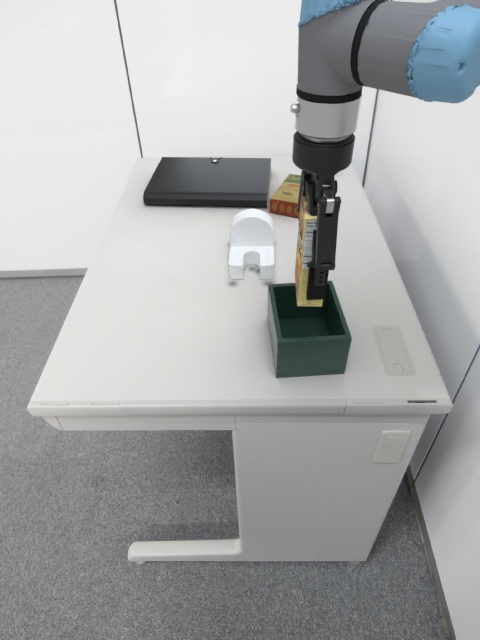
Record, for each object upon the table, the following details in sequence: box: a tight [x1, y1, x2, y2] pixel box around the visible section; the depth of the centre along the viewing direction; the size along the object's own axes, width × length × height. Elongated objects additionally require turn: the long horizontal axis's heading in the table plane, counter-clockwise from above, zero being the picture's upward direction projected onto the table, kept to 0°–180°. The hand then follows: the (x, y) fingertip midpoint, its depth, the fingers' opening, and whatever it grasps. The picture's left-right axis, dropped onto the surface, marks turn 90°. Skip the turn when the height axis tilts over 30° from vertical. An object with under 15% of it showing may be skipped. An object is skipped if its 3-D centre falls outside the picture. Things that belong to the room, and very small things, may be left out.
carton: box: [268, 173, 301, 218], centre depth 117 cm, size 8×16×4 cm, turn 157°
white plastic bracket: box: [228, 208, 275, 280], centre depth 97 cm, size 10×18×11 cm, turn 178°
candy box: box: [294, 190, 323, 307], centre depth 65 cm, size 9×4×15 cm, turn 178°
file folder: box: [142, 156, 272, 208], centre depth 124 cm, size 33×4×24 cm
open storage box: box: [266, 280, 353, 379], centre depth 76 cm, size 15×12×9 cm
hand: (309, 278), depth 69 cm, fingers closed on candy box, 9 cm apart
